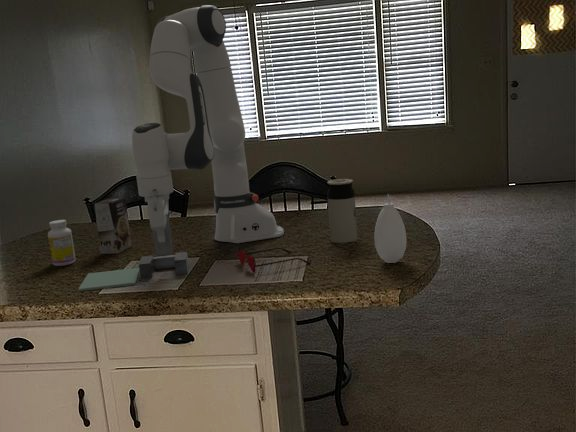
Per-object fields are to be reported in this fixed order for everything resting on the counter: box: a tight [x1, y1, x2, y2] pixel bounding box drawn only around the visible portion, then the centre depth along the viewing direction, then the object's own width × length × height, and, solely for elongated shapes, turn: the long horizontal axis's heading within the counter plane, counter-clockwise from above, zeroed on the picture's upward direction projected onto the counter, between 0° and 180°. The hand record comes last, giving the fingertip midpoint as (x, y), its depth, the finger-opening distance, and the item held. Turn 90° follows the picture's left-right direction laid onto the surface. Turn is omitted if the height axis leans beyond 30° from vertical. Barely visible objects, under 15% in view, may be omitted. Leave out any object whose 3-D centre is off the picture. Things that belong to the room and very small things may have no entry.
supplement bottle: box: [47, 219, 77, 267], centre depth 182 cm, size 7×7×13 cm
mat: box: [77, 267, 140, 292], centre depth 162 cm, size 14×14×1 cm
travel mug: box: [326, 178, 358, 244], centre depth 181 cm, size 8×8×18 cm
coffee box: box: [94, 197, 132, 255], centre depth 193 cm, size 9×6×16 cm
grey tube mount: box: [138, 251, 189, 280], centre depth 165 cm, size 12×10×4 cm
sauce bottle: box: [373, 193, 407, 264], centre depth 155 cm, size 8×8×18 cm
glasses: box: [235, 247, 312, 274], centre depth 164 cm, size 14×16×5 cm
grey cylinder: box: [152, 213, 174, 257], centre depth 161 cm, size 4×4×10 cm
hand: (162, 239), depth 161 cm, fingers closed on grey cylinder, 4 cm apart
